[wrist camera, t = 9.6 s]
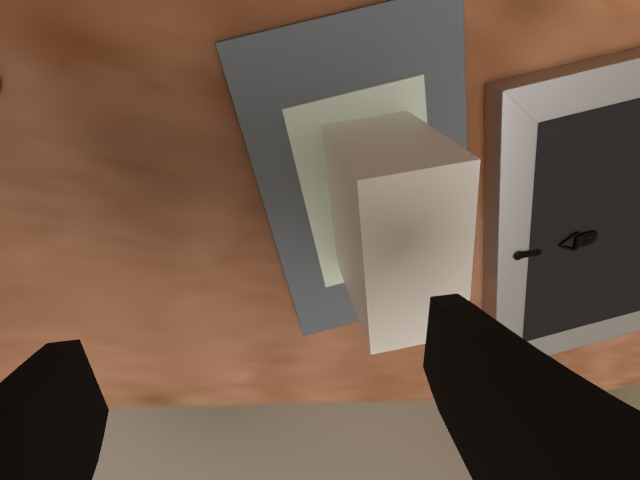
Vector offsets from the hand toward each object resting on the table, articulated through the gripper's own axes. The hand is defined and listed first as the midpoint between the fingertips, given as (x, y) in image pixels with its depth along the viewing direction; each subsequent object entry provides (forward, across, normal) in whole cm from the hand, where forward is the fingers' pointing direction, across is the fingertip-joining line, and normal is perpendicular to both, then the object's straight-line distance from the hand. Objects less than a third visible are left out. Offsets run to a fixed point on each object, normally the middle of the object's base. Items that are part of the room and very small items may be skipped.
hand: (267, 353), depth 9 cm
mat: (+10, -5, +1) cm, 11 cm away
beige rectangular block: (+10, -5, +1) cm, 11 cm away
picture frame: (+12, -21, +3) cm, 24 cm away
